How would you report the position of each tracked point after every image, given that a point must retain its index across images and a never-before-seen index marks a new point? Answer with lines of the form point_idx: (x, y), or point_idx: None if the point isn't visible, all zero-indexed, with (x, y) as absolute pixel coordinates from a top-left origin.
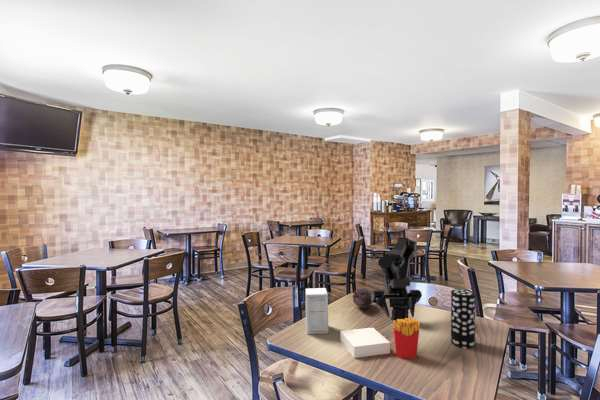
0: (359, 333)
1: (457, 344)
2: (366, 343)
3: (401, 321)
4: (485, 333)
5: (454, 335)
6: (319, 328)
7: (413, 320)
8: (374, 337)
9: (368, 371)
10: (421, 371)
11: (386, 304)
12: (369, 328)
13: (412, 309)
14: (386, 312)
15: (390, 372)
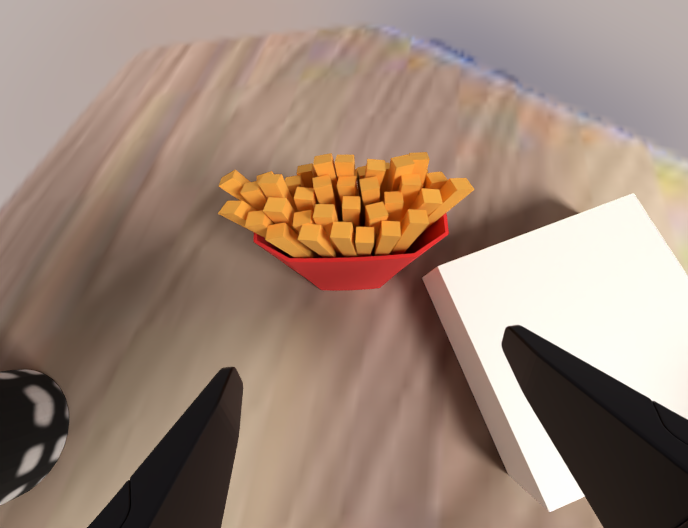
0: (633, 380)
1: (46, 390)
2: (571, 239)
3: (398, 159)
4: None
5: (3, 418)
6: None
7: (273, 179)
8: (529, 325)
9: (515, 124)
10: (314, 145)
11: (679, 458)
12: (573, 486)
13: (190, 438)
14: (569, 362)
15: (432, 126)
